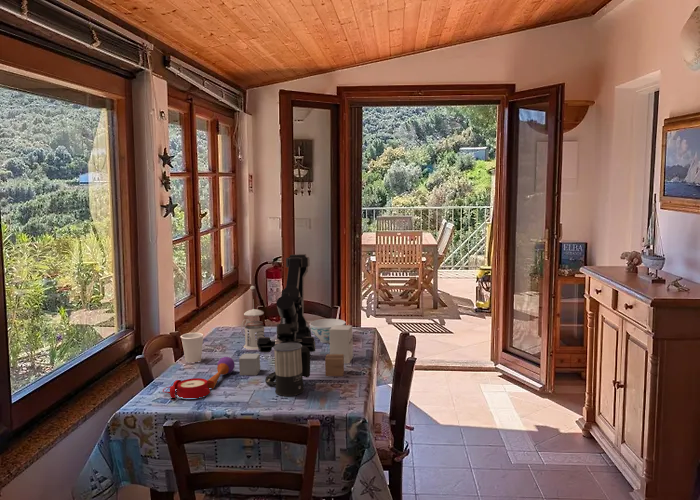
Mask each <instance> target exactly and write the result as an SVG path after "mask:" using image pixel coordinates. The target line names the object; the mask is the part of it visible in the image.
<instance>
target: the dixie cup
mask: <svg viewBox="0 0 700 500" xmlns="http://www.w3.org/2000/svg"><path fill="white" fill-rule="evenodd" d="M180 339H181V342H182V344H181V345H182V348H183V355H184V359H185V362H186V361H187V362H198V361H200V362H202V354H203V343H204V342H203V340H204V334H203V333H201V332H188V333H183V334H182V335H180ZM198 363H199V362H198Z"/></svg>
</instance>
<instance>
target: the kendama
mask: <svg viewBox="0 0 700 500" xmlns="http://www.w3.org/2000/svg"><path fill="white" fill-rule="evenodd" d="M235 365H236V364H235V361H234V359H233V358H231V356H222V357H221V358H220V359H219V360H218V361H217V367H216V369H217V372H216V373H214V374H213V376H211V377H210V378H209V379H206V380H207V382H212V383H208V388H212V389H211V390H213V389H214V388H215V387H216V384H217V383H218V380H219V379H220V377H221V375H223V376H224V375H227V374H228V375H229V374H231V373H232V372H233V371H234V369H235V367H236V366H235ZM213 381H214V383H213Z"/></svg>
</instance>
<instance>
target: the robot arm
mask: <svg viewBox="0 0 700 500" xmlns="http://www.w3.org/2000/svg"><path fill="white" fill-rule="evenodd" d="M310 264H311V263H310V257H309V256H307V254H306V253H305V254H304V253H303V254H300V253H299V254H289V256H288V257H285V267H286V268H288V269H287V276H286V277H287V278H286V285H285V287H284V289H282V290H281V295H280V296H279V297H278V299H277V300H276V302H275V303H276V308H277V312H278V315H279V317H280V321H279V323H276V339H275V340H271V337H270V336H265V337H260V338H259V339H258V340H257V339H256V340H257V345H258V348H259V349H258V351H259V352H260V353H270V352H271V351H272V350H273V347H274V346H275V345H277V344H281V343H289V342H293V343H299V344H301V345H302V346H305V347H307V348H308V349H309V351H310V353H315V352H316V340H315V337H314V336H312V331H311V328H310V325H308V321H307V319H306V318H305V315H304V312H305V311H304V305H305V303H304V300H305V297H304V295H305V293H304V292H305V289H304V288H305V287H304V285H305V277H306V275H307V273H308V271H309V267H310ZM310 357H312V355H311V354H310Z"/></svg>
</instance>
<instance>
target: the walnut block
mask: <svg viewBox="0 0 700 500" xmlns="http://www.w3.org/2000/svg"><path fill="white" fill-rule="evenodd" d="M324 365H325V367H324V370H325V377H343V376H344V374H345V363H344V354H330V353H329V354H326V355H325V358H324Z"/></svg>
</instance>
